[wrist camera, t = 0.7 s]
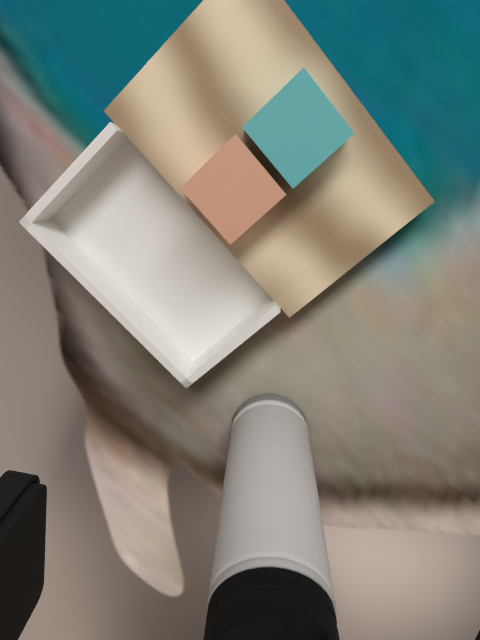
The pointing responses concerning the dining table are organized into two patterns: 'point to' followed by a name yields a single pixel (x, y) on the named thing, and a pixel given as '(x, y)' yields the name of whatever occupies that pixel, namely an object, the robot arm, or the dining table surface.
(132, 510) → the dining table surface
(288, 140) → the tile teal
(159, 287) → the tray
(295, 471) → the travel mug
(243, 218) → the tile terracotta
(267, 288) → the board
